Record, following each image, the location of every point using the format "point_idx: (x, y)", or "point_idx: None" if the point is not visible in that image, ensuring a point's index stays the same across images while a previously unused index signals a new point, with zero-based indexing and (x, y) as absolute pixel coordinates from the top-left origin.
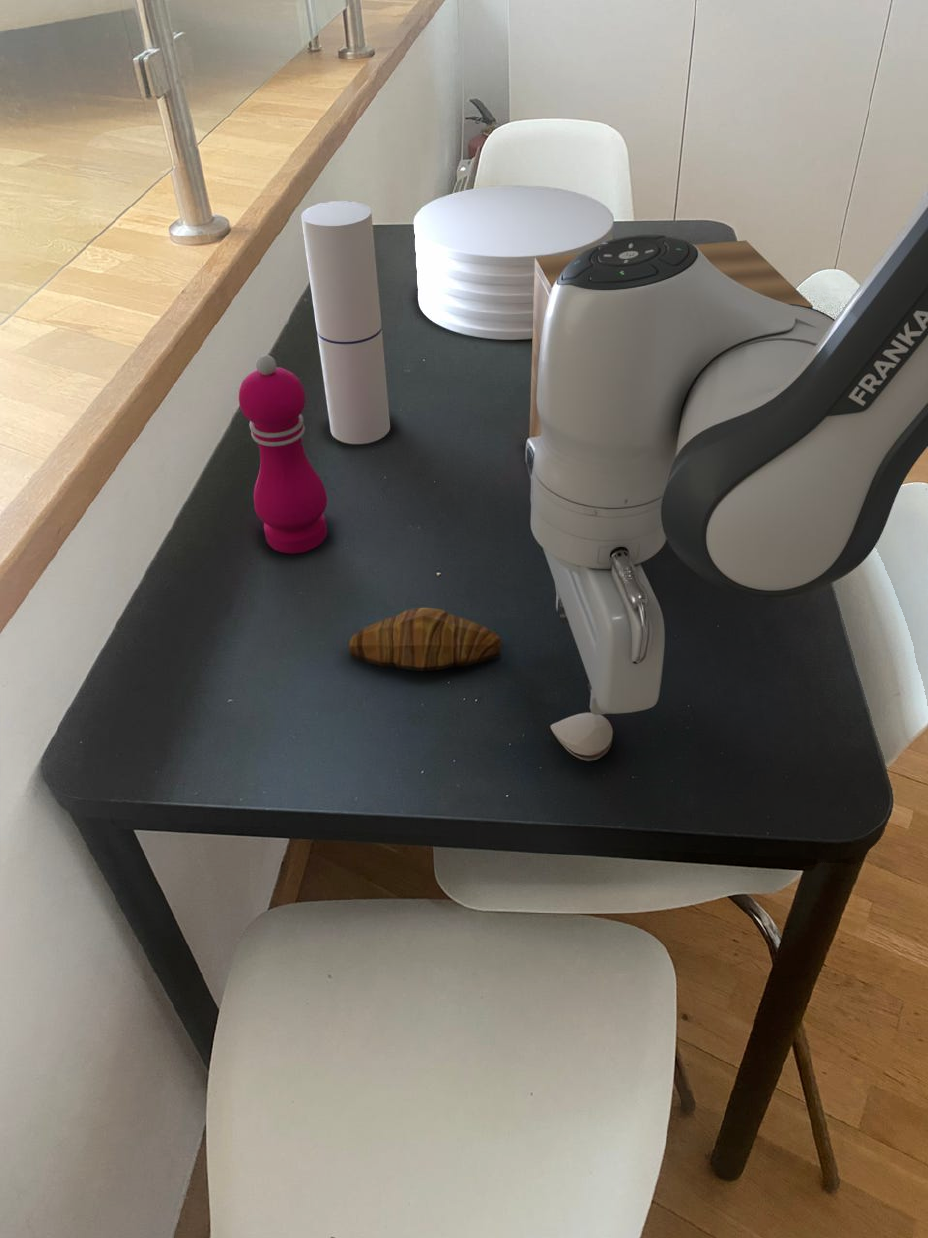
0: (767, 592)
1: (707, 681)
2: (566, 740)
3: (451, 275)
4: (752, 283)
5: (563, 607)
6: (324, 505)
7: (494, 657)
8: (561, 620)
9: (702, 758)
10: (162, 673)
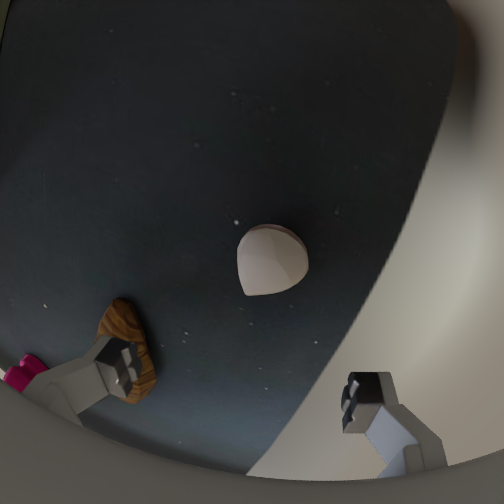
0: None
1: (195, 57)
2: (278, 291)
3: None
4: None
5: (126, 393)
6: (20, 375)
7: (133, 306)
8: (140, 372)
9: (330, 111)
10: (159, 452)
